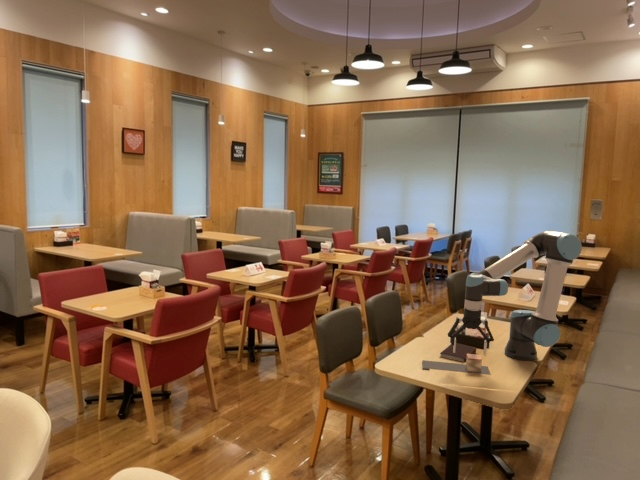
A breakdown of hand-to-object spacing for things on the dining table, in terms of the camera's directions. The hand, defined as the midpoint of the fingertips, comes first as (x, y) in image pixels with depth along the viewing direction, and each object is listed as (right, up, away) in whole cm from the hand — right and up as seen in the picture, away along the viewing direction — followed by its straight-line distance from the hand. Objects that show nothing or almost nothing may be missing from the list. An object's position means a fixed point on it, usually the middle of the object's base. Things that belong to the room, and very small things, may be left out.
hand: (469, 353), depth 220 cm
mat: (-6, -8, +2) cm, 10 cm away
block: (+2, -7, +1) cm, 8 cm away
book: (+1, -6, +20) cm, 21 cm away
